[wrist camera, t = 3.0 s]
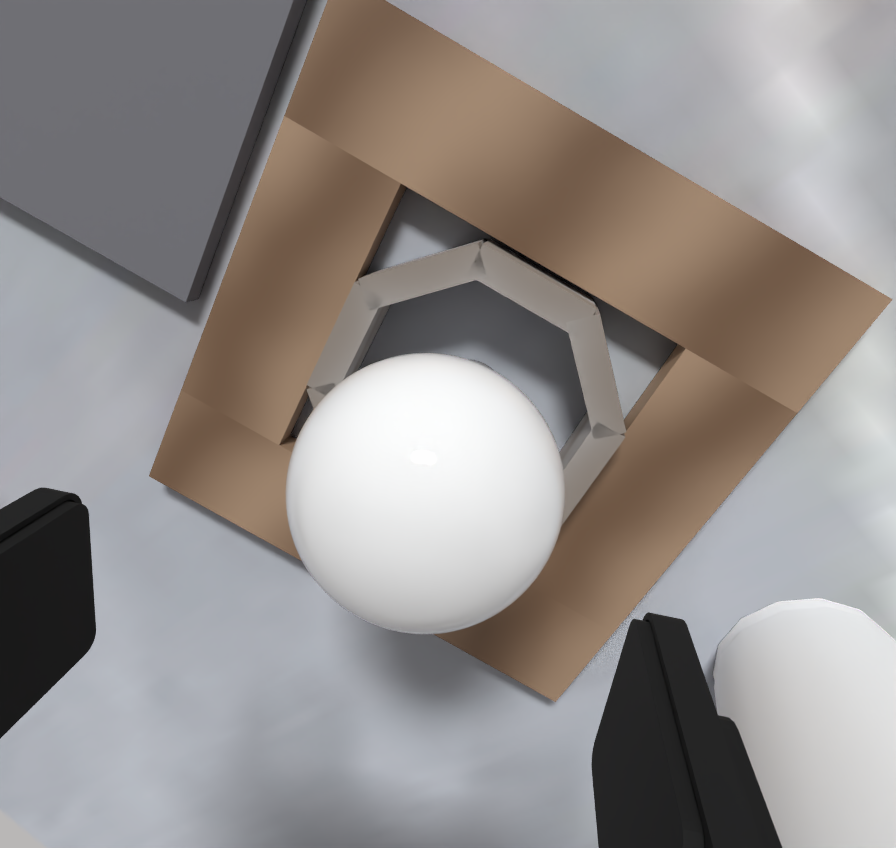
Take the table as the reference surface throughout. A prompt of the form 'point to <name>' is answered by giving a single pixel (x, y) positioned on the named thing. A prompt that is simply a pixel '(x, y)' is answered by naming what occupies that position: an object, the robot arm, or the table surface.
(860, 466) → the table surface
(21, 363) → the table surface
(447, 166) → the socket plate
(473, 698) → the table surface
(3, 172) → the rubber mat
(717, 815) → the robot arm
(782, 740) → the foam cup
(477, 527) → the lightbulb
